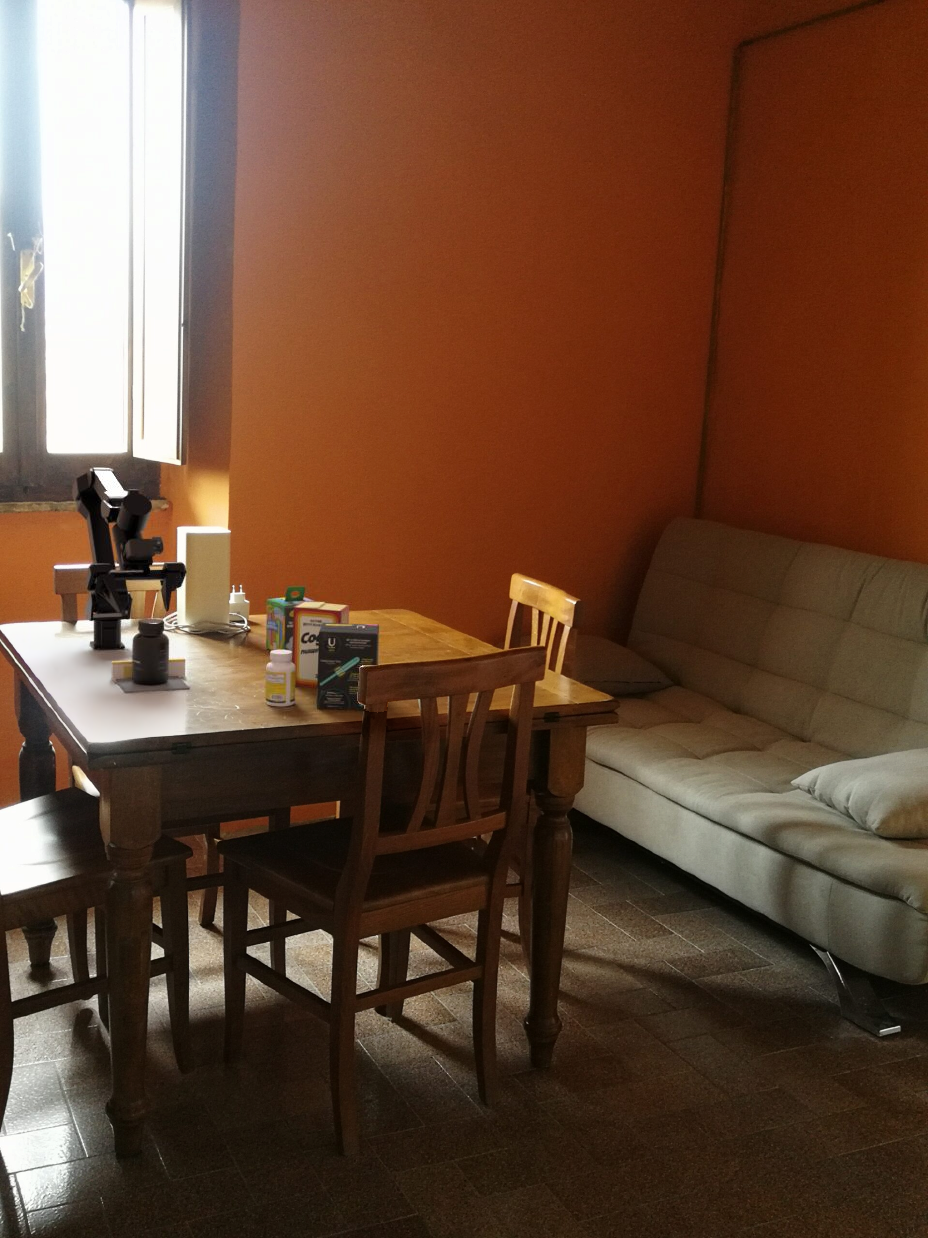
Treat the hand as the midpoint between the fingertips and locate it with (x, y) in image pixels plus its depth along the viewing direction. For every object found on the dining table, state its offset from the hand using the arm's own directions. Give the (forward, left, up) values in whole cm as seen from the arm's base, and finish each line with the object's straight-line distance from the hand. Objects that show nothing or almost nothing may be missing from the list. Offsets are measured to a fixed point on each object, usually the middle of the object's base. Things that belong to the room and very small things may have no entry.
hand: (144, 611), depth 229 cm
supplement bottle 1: (+5, 0, -13) cm, 14 cm away
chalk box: (-18, +36, -13) cm, 42 cm away
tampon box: (+28, +32, -13) cm, 45 cm away
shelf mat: (+6, 0, -13) cm, 15 cm away
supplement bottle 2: (+25, +20, -13) cm, 35 cm away
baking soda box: (+12, +32, -13) cm, 37 cm away
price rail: (0, +1, -13) cm, 13 cm away
